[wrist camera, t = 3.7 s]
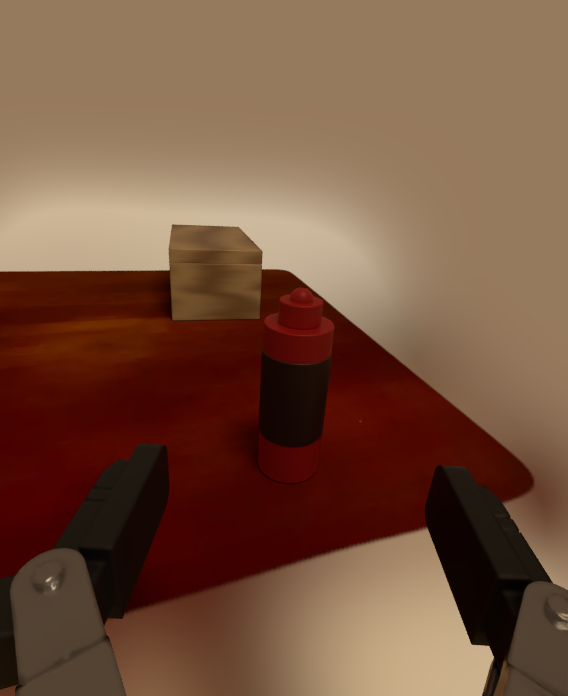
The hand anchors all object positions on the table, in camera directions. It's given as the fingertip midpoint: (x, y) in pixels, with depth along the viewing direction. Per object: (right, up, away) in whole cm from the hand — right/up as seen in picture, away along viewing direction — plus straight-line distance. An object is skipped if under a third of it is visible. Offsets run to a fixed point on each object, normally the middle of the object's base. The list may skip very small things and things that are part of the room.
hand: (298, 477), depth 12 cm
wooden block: (-11, +11, +43) cm, 46 cm away
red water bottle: (0, -3, +12) cm, 12 cm away
